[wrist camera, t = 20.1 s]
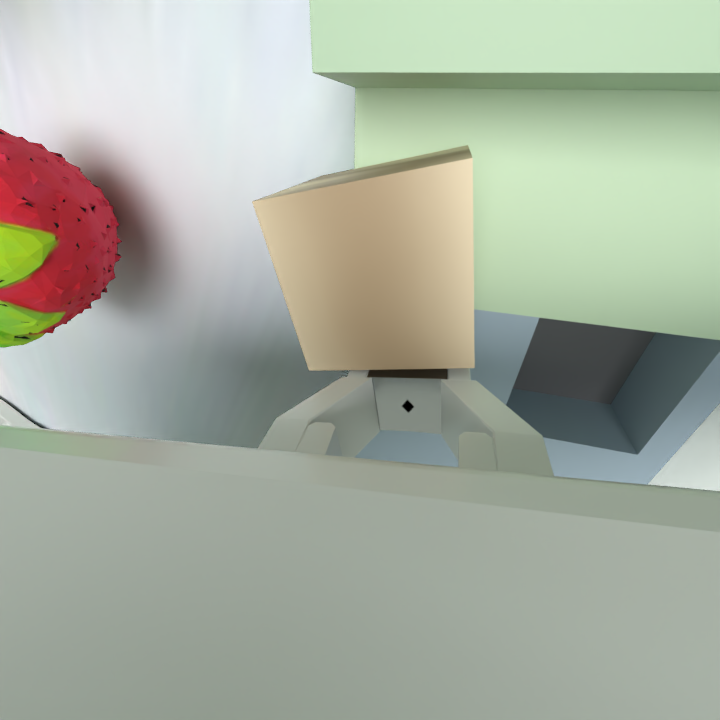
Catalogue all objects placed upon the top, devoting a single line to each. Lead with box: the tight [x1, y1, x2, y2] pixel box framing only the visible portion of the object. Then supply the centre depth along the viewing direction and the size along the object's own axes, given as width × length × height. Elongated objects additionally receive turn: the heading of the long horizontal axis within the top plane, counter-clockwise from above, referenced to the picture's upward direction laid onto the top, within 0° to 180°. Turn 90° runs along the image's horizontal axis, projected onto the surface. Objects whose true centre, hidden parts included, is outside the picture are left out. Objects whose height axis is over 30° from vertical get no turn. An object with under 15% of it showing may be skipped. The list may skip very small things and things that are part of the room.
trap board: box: [309, 0, 720, 485], centre depth 15 cm, size 12×28×6 cm, turn 179°
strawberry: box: [0, 129, 122, 347], centre depth 11 cm, size 6×7×10 cm
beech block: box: [252, 145, 475, 371], centre depth 8 cm, size 4×4×4 cm
